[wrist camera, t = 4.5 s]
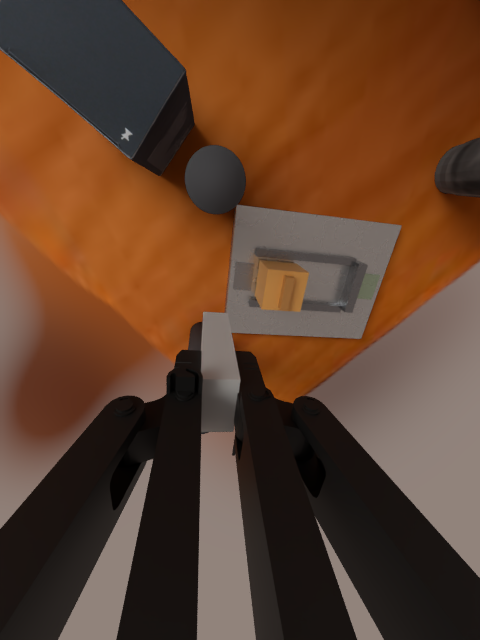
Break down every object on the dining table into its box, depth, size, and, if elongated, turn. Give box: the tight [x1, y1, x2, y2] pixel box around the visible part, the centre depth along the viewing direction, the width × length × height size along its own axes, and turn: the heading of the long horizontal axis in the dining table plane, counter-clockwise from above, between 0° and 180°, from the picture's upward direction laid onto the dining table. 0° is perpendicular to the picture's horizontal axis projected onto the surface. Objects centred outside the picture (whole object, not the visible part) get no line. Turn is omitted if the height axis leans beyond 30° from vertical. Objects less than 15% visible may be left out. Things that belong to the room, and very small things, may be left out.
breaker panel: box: [225, 205, 401, 339], centre depth 29 cm, size 18×14×3 cm
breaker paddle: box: [255, 260, 309, 312], centre depth 26 cm, size 4×4×5 cm
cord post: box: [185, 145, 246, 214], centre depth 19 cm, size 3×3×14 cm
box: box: [0, 0, 195, 176], centre depth 17 cm, size 8×6×11 cm
